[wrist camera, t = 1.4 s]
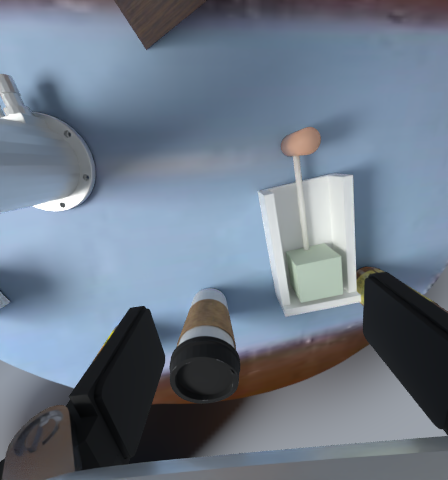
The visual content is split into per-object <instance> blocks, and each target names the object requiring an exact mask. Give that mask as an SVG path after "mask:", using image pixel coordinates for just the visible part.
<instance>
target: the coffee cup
mask: <svg viewBox="0 0 448 480" xmlns="http://www.w3.org/2000/svg"><path fill="white" fill-rule="evenodd" d="M239 372H240V359H239V355H238V353H237V351H236V345H235V340H234V335H233V330H232V325H231V321H230V316H229V312H228V306H227V301H226V298H225V296H224V294H223V293H222V292H220V291H219V290H217V289H213V288H206V289H203V290H200V291H199V292H198V293H197V294H196V295H195V296H194V299H193V301H192V304H191V307H190V310H189V313H188V315H187V318H186V321H185V324H184V326H183V329H182V332H181V335H180V337H179V340H178V343H177V347H176V349H175V350H174V352H173V354H172V356H171V361H170V384H171V387H172V389H173V391H174V392H175V393H176V394H177V395H178V396H179V397H181V398H183V399H184V400H187V401H190V402H194V403H212V402H217V401H220V400H223V399H225V398H227V397H229V396H231V395H232V394H233V393H234V392H235V391H236V390H237V387H238V382H239Z"/></svg>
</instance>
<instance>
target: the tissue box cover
mask: <svg viewBox="0 0 448 480" xmlns="http://www.w3.org/2000/svg"><path fill="white" fill-rule="evenodd" d="M114 1H115V2H116V4H117V5H118V7H119V8H120V10H121V12H122V13H123V15H124V16H125V18H126V19H127V21H128V22H129V24H130V25H131V27H132V28H133V30H134V32H135V33H136V35H137V36H138V38H139V39H140V41H141V42H142V44H143V45H144V47H145V49H146V50H147V49H148V48H149V47H150V46H152V45H153V44H154V43H155V42H157V41H158V40H159V39H160V38H162V37H163V36H164V35H165V34H166V33H168V32H169V31H170V30H171V29H173V28H174V27H175V26H176V25H178V24H179V23H180V22H181V21H182V20H184V19H185V18H186V17H187V16H189V15H190V14H191V13H192V12H193V11H195V10H196V9H197V8H198V7H200V6H201V5H202V4H203V3H205V2H206V1H207V0H114Z"/></svg>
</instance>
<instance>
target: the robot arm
mask: <svg viewBox="0 0 448 480" xmlns="http://www.w3.org/2000/svg"><path fill="white" fill-rule="evenodd" d="M0 96H1V98H2V100H3V102H4V104H5V106H6V107H5V108H3V110H4V112H5V114H6V116H5V115H4V113H3V111H2V109H1V106H0V213H5V212H9V211H13V210H18V209H22V208H27V207H31V206H34V207H36V208H39V209H43V210H46V211H55V212H56V211H65V210H68V209H72V208H74V207H77V206H79V205H80V204H81V203H83V202H84V201H85V200H86V199H87V198H88V197H89V195H90V194H91V192H92V190H93V187H94V183H95V175H96V171H95V163H94V160H93V157H92V154H91V152H90V150H89V148H88V146H87V144H86V143H85V141H84V140H83V139H82V137H81V136H80V135H79V134H78V133H77V132H76V131H75V130H74V129H73V128H72V127H71V126H69V125H68V124H67V123H65V122H64V121H62V120H60V119H58V118H56V117H53V116H50V115H47V114H43V113H38V112H31V110H30V108H29V107H26V106H24V103H23V101H22V99H21V97H20V93H19V91H18V88H17V86H16V84H15V82H14V80H13V78H12V77H11V76H9V75H6V74H0ZM70 134H71V136H70ZM88 176H89V178H88ZM363 333H364V336H365V338H366V339H367V341H368V342H369V343H370V345H371V346H372V347H373V348H374V349H375V351H376V352H377V353H378V355H379V356H380V357H381V358H382V360H383V361H384V362H385V363H386V364H387V366H388V367H389V368H390V370H391V371H392V372H393V373H394V375H395V376H396V377H397V378H398V380H399V381H400V382H401V384H402V385H403V386H404V387H405V389H406V390H407V391H408V392H409V394H410V395H411V396H412V397H413V399H414V400H415V401H416V402H417V404H418V405H419V406H420V407H421V408H422V410H423V411H424V412H425V414H426V415H427V416H428V417H429V419H430V420H431V421H432V422H433V423H434V425H435V426H436V427H438V428H439V429H443V430H444V431H445V432H446V434H447V435H448V313H447V312H446V311H444V310H443V309H441V308H440V307H438V306H437V305H435V304H434V303H432V302H431V301H429V300H428V299H426V298H425V297H423V296H422V295H420V294H419V293H417V292H416V291H414V290H413V289H411V288H410V287H408V286H407V285H405V284H404V283H402V282H401V281H399V280H398V279H396V278H395V277H393V276H392V275H390V274H389V273H387V272H380V273H372V274H369V276H368V278H366V279H365V281H364V310H363ZM164 364H165V354H164V351H163V348H162V345H161V342H160V339H159V336H158V333H157V330H156V327H155V324H154V321H153V318H152V315H151V312H150V310H149V309H146V308H145V306H140V307H133V308H130V309H129V310H128V312H127V313H126V315H125V316H124V317H123V319H122V320H121V322H120V323H119V325H118V326H117V328H116V329H115V330H114V332H113V333H112V335H111V336H110V338H109V339H108V341H107V342H106V343H105V345H104V346H103V348H102V349H101V351H100V352H99V354H98V355H97V356H96V358H95V359H94V361H93V362H92V364H91V365H90V367H89V368H88V369H87V371H86V372H85V374H84V375H83V377H82V378H81V380H80V381H79V382H78V384H77V385H76V387H75V388H74V390H73V391H72V393H71V394H70V395H69V398H70V401H69V402H68V404H67V405H66V406H64V405H56V406H53V407H49V408H47V409H45V410H43V411H42V412H40V413H38V414H37V415H36V416H34V417H33V418H31V419H30V420H29V421H28V422H27V423H26V424H25V425H24V426H23V427H22V428H21V429H20V430H19V431H18V432H17V434H16V435H15V436H14V438H13V439H12V441H11V443H10V444H9V446H8V450H7V452H6V457H5V459H3V460H2V461H1V462H0V480H448V436H442V437H429V438H417V439H404V440H392V441H379V442H368V443H355V444H343V445H331V446H320V447H308V448H297V449H285V450H274V451H262V452H251V453H239V454H229V455H219V456H207V457H196V458H187V459H176V460H165V461H154V462H144V463H135V464H128V463H129V460H130V457H133V456H134V455H135V453H136V451H137V448H138V444H139V442H140V438H141V435H142V432H143V429H144V426H145V423H146V420H147V417H148V414H149V411H150V407H151V404H152V401H153V398H154V395H155V392H156V389H157V386H158V383H159V380H160V376H161V373H162V370H163V367H164Z"/></svg>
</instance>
